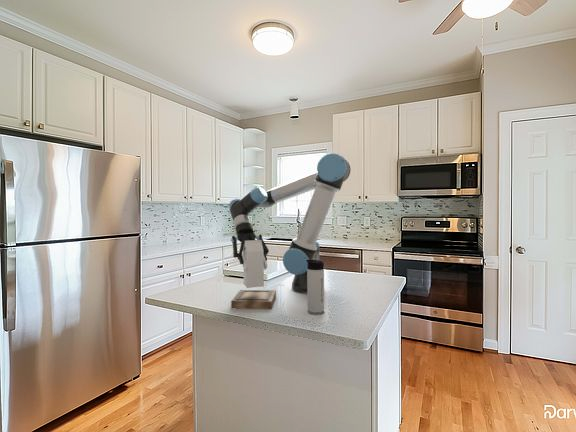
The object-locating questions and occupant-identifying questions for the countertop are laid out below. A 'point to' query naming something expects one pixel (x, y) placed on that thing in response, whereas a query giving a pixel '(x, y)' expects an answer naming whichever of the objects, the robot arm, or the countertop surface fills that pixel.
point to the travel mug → (315, 287)
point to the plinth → (254, 299)
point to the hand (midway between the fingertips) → (256, 268)
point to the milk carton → (254, 263)
